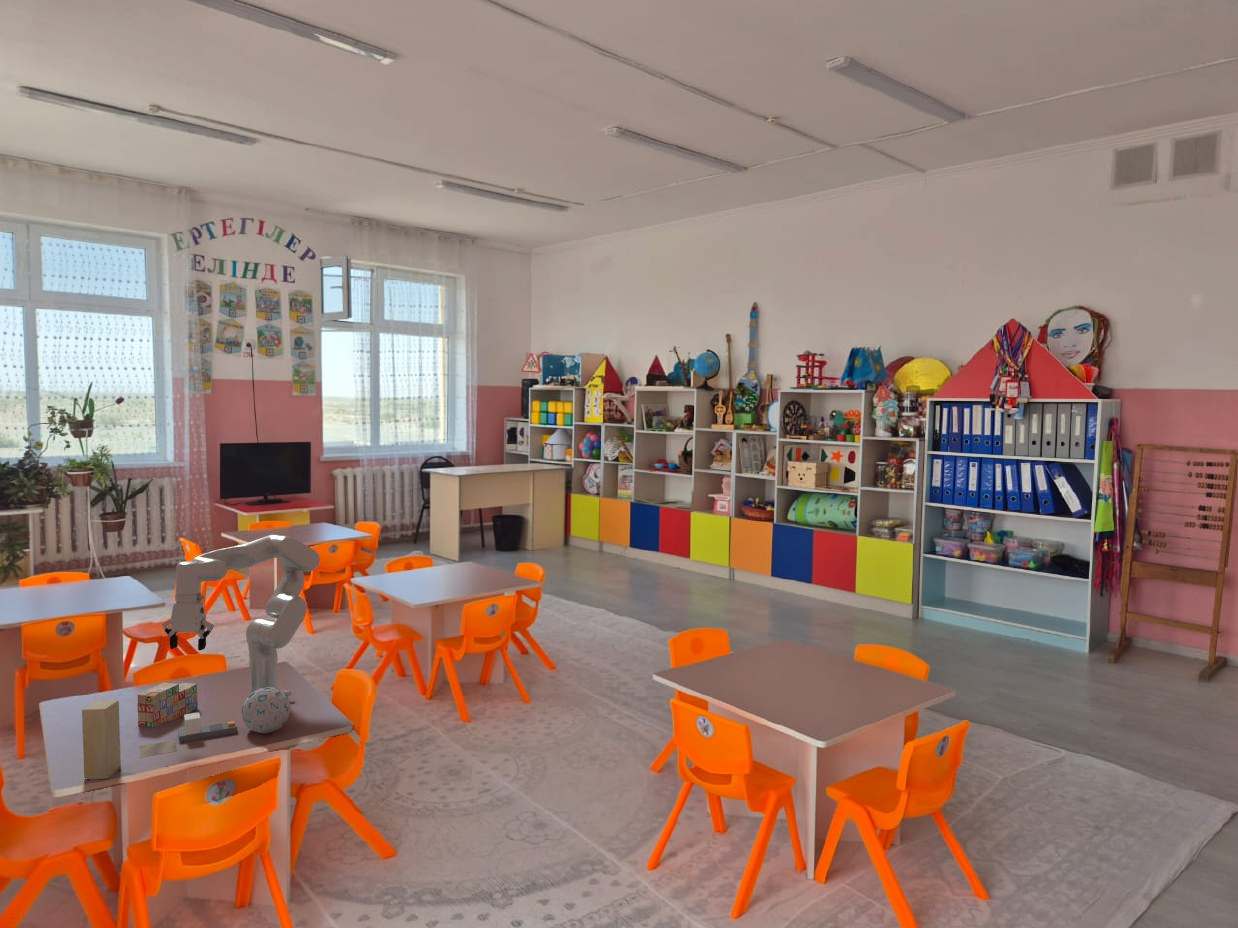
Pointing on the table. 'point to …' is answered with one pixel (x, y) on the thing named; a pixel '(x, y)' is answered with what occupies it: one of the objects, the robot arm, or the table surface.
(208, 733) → the power strip
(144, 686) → the table surface
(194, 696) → the stack of blocks
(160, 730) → the table surface
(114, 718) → the tall wooden block
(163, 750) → the pad
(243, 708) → the puzzle ball
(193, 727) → the block
